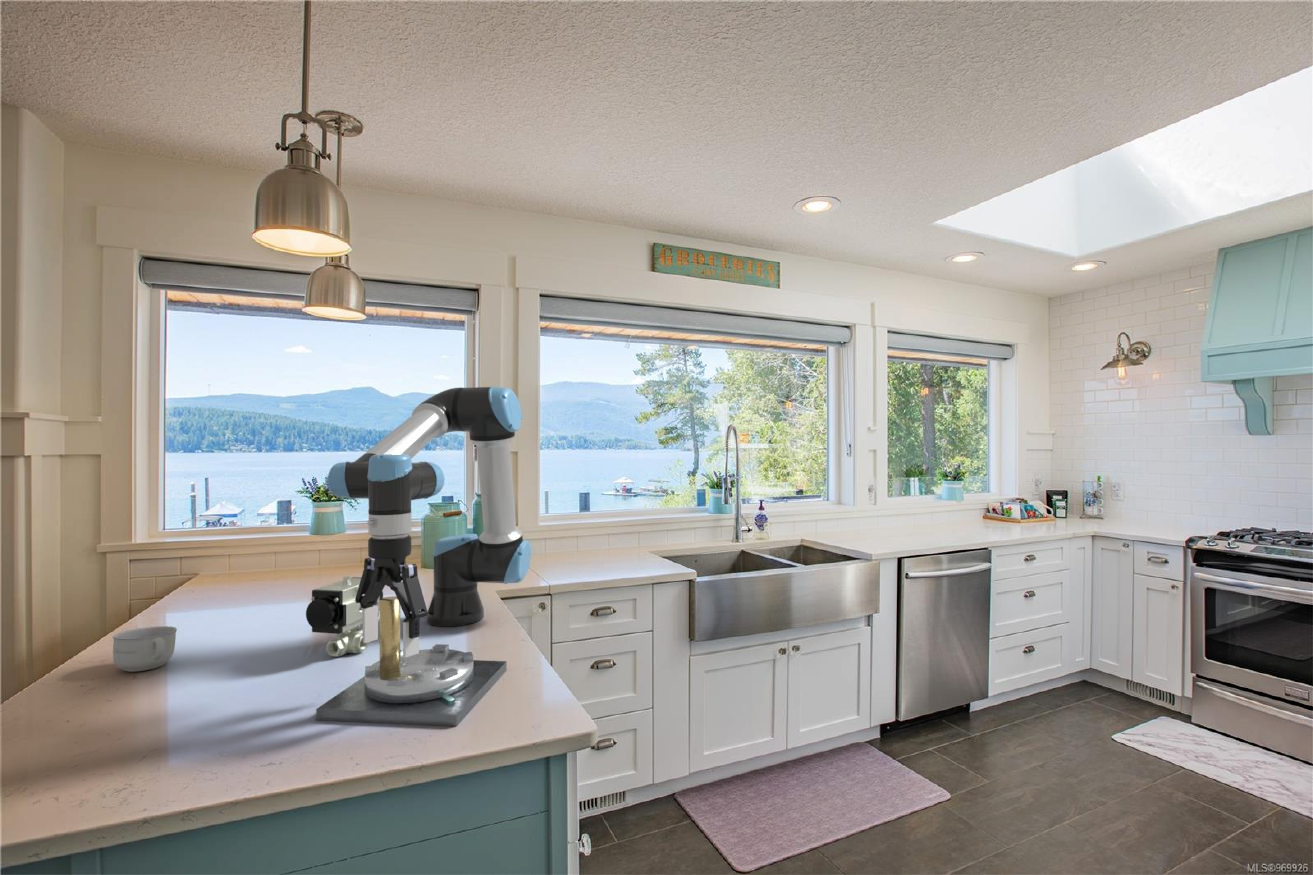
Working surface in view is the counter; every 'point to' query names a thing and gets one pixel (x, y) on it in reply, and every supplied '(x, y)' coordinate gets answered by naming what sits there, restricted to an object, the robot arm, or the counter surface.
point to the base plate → (430, 712)
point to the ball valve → (339, 616)
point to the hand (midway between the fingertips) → (390, 647)
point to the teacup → (143, 648)
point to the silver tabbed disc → (413, 665)
